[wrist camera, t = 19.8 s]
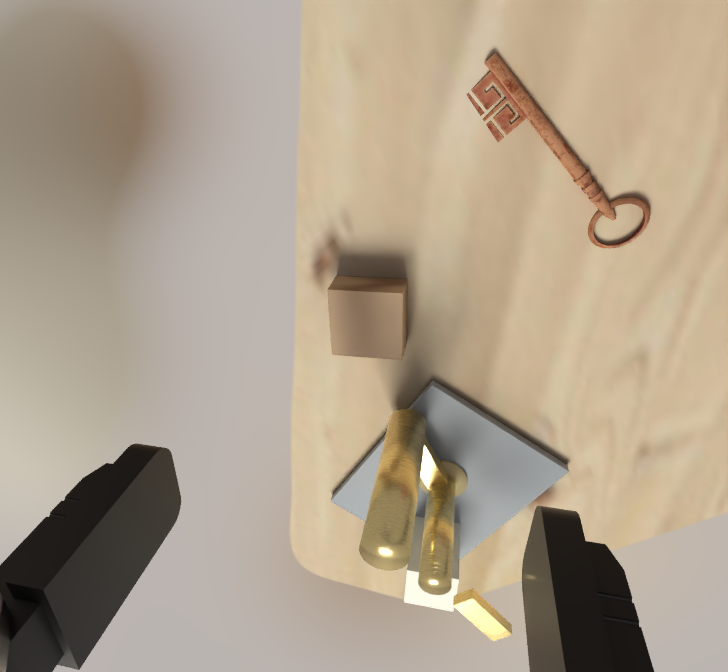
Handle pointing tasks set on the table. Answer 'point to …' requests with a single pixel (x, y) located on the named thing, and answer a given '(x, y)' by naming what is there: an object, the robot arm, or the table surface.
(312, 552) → the table surface
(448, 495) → the latch handle
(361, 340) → the tan squat block
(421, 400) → the plate
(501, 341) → the table surface
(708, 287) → the table surface
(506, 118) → the key
